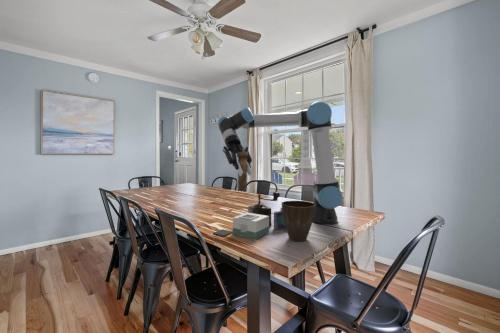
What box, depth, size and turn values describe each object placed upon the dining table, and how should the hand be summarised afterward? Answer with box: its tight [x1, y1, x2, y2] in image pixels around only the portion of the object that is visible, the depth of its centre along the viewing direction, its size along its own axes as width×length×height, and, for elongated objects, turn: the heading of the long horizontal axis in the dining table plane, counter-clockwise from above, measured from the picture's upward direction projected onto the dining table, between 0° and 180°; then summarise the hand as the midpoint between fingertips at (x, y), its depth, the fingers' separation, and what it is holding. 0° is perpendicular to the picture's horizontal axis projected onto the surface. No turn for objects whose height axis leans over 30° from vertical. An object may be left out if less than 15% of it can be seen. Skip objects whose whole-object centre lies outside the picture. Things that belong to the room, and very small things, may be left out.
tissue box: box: [232, 212, 270, 240], centre depth 118 cm, size 13×12×9 cm
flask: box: [273, 207, 287, 231], centre depth 125 cm, size 9×3×11 cm, turn 109°
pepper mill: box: [247, 191, 281, 227], centre depth 134 cm, size 16×11×18 cm
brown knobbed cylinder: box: [236, 152, 248, 192], centre depth 116 cm, size 5×5×18 cm
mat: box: [212, 228, 233, 238], centre depth 118 cm, size 7×7×1 cm
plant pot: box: [281, 200, 315, 242], centre depth 110 cm, size 15×15×16 cm
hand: (245, 173), depth 112 cm, fingers closed on brown knobbed cylinder, 4 cm apart
